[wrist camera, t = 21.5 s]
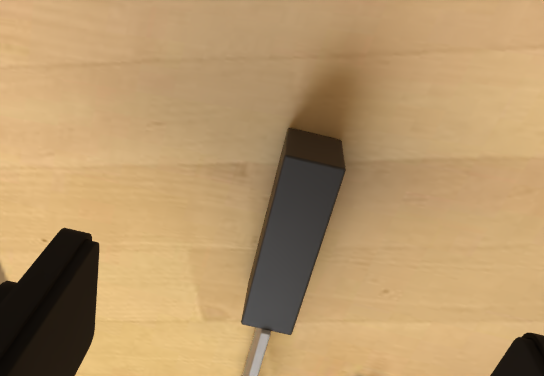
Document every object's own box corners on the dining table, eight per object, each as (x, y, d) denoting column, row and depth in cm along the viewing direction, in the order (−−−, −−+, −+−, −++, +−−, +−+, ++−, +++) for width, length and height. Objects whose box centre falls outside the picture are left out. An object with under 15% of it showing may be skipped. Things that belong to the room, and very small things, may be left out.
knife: (288, 126, 19) (284, 157, 16) (342, 139, 19) (347, 171, 16) (213, 418, 27) (202, 470, 25) (251, 426, 27) (245, 479, 25)
